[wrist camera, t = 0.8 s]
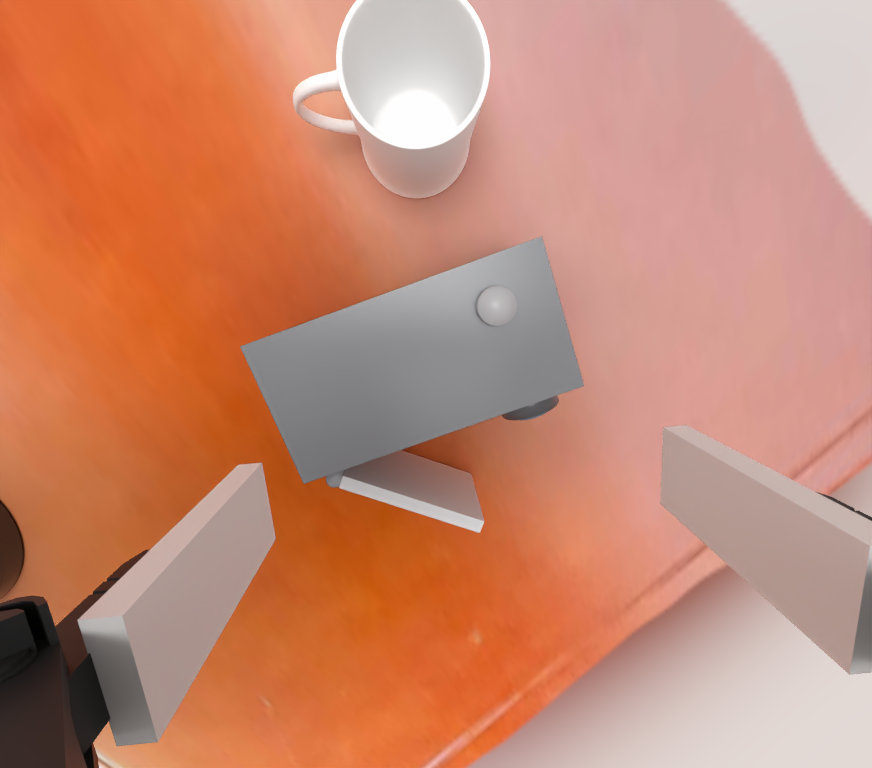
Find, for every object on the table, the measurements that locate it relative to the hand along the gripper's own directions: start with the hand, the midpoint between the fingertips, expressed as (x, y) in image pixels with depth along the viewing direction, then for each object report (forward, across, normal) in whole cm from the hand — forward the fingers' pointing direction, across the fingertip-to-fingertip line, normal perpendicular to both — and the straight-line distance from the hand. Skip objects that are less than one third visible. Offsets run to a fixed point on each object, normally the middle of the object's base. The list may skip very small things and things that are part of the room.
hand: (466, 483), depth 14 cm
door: (+24, -4, -9) cm, 26 cm away
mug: (+25, -2, +18) cm, 30 cm away
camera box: (+24, -2, +1) cm, 24 cm away
